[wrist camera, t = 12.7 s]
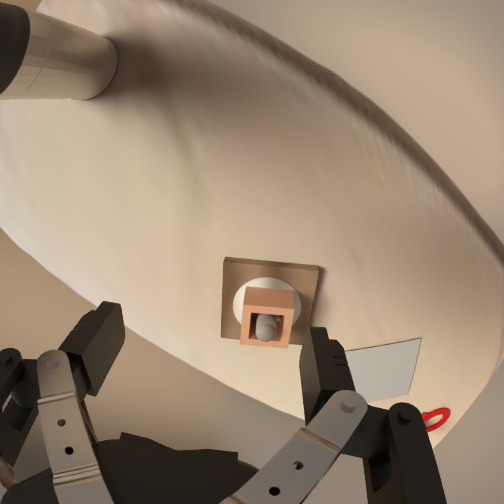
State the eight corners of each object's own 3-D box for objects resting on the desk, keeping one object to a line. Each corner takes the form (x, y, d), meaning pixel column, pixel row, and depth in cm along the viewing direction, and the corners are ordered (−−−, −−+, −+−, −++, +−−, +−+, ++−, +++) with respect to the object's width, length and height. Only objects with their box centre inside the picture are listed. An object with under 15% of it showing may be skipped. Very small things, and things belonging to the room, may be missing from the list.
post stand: (222, 331, 45) (213, 369, 37) (225, 256, 40) (214, 287, 33) (303, 338, 45) (307, 377, 37) (317, 265, 40) (327, 298, 32)
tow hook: (454, 404, 51) (422, 409, 51) (475, 446, 40) (442, 456, 39) (437, 426, 55) (406, 432, 55) (455, 467, 43) (422, 476, 43)
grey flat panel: (320, 301, 42) (320, 303, 42) (470, 277, 40) (472, 279, 39) (322, 406, 51) (322, 409, 51) (443, 382, 48) (444, 384, 48)
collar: (242, 324, 42) (239, 344, 38) (245, 286, 40) (242, 304, 36) (286, 327, 42) (287, 348, 38) (292, 290, 40) (294, 309, 36)
